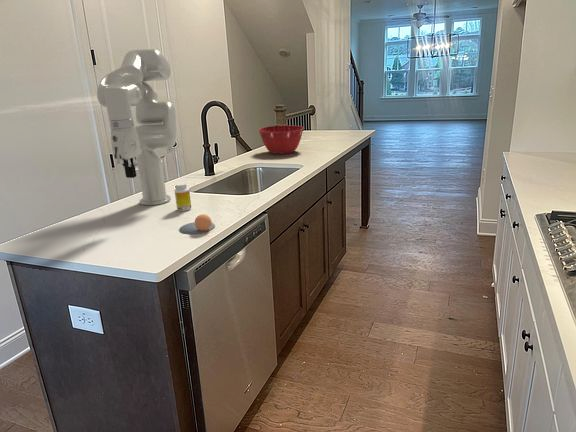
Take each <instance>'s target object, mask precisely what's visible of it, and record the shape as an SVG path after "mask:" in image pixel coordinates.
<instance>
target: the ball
mask: <svg viewBox="0 0 576 432" xmlns="http://www.w3.org/2000/svg"><path fill="white" fill-rule="evenodd" d="M194 222H195V226H196V228H197V229H198V230H200V231H206V230H208V229H209V228H210V227H211V224H212V223H213V221H212V219H211V217H210V216H209V215H207V214H205V213H203V214H202V213H201V214H199V215H198V216H196V217H195V219H194Z"/></svg>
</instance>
